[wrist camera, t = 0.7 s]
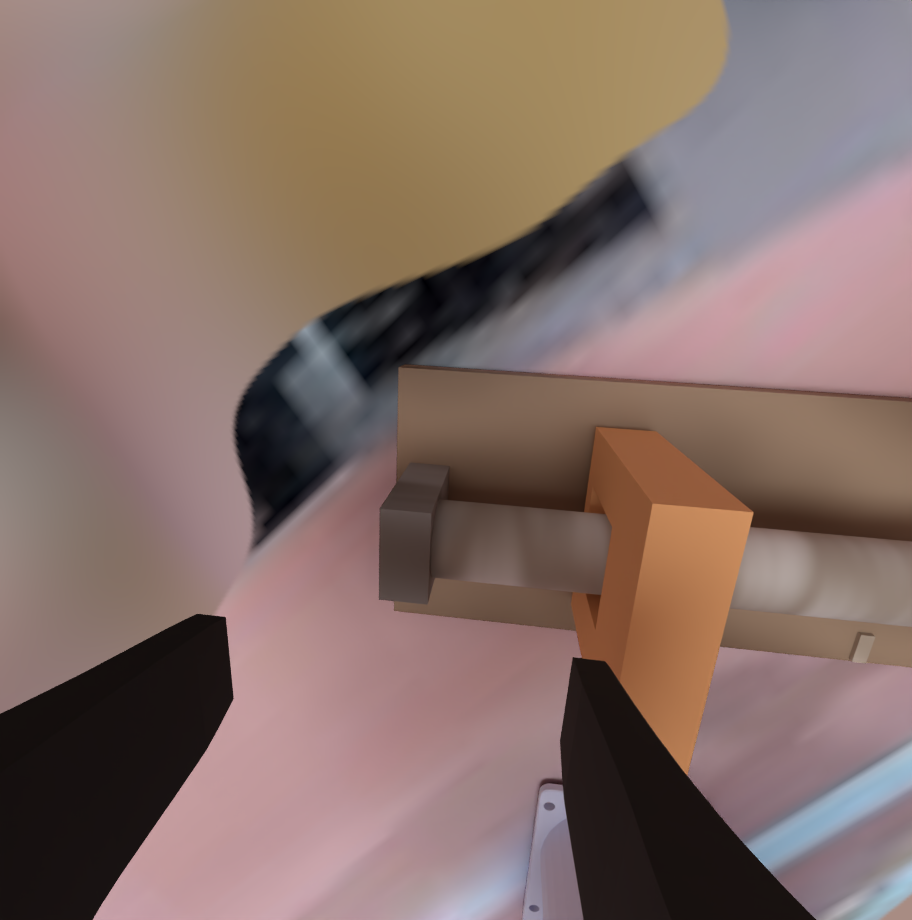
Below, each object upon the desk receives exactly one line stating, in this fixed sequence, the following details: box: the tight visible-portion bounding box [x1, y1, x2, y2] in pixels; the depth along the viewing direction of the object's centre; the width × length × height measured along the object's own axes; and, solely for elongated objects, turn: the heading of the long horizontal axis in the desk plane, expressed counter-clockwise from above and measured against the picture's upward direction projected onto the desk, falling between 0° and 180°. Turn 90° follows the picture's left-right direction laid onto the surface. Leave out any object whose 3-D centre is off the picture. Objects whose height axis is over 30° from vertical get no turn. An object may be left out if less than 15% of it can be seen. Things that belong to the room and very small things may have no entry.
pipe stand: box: [379, 364, 912, 667], centre depth 16 cm, size 10×26×6 cm, turn 87°
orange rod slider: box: [571, 427, 754, 775], centre depth 14 cm, size 7×2×7 cm, turn 177°
